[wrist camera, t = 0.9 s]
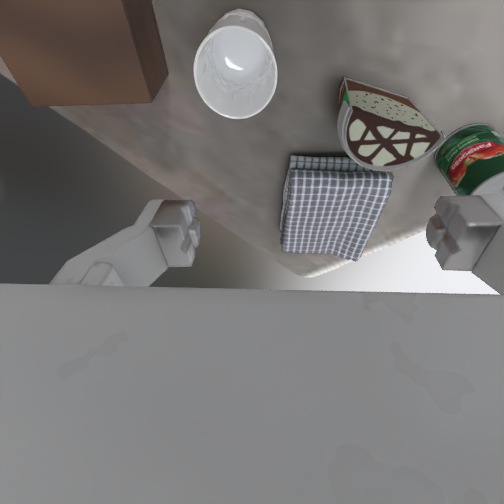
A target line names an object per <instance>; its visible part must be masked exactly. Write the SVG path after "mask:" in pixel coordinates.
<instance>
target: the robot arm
mask: <svg viewBox="0 0 504 504" xmlns="http://www.w3.org/2000/svg"><path fill="white" fill-rule="evenodd" d="M434 208H435V210H436V212H437V214H435V215H434V216H433V217H431V218H430V219H429V222H428V225H427V228H426V237H427V241H428V243H429V245H430V246H431V247H432V248H434V249H436V250H437V252H436V254H435V257H436V258H437V260H438V262H439V264H440V266H441V268H442V270H458V271H472V273H473V274H475V275H476V276H477V277H478V278H480V279H481V280H482V281H484V282H485V283H486V284H488V285H489V286H490V287H492V288H493V289H494V290H495V291H497V292H498V293H499V294H501V295H490V294H487V295H486V294H443V293H401V292H355V291H354V292H353V291H352V292H351V291H309V290H308V291H307V290H264V289H263V290H262V289H259V290H258V289H219V288H172V287H148V286H149V285H150V284H151V283H153V282H154V281H155V280H156V279H157V278H158V277H159V276H160V275H161V274H162V273H163V272H164V271H166V270H167V269H168V267H191V265H192V262H193V259H194V257H195V250H194V248H195V247H197V246H198V245H199V242H200V236H201V229H200V223H199V220H198V219H197V218H196V217H195V216H194V215H195V212H196V207H195V204H194V202H193V201H192V200H151V201H149V202H148V204H147V205H146V207H145V208H144V210H143V211H142V213H141V215H140V216H139V218H138V219H137V221H136V222H135V224H134V226H132V227H127V228H125V229H123V230H122V231H120V232H118V233H116V234H115V235H113V236H111V237H109V238H108V239H106V240H104V241H102V242H100V243H99V244H97V245H95V246H93V247H92V248H90V249H88V250H86V251H85V252H83V253H81V254H79V255H77V256H76V257H74V258H72V259H70V260H68V261H67V262H66V263H65V264H64V266H63V267H62V268H61V269H60V271H59V272H58V273H57V275H56V276H55V277H54V278H53V280H52V281H51V282H50V283H49V285H41V284H0V504H504V201H503V200H502V199H501V198H500V197H499V196H498V195H495V194H486V195H466V196H441V197H440V198H439V199H438V200H437V202H436V205H435V207H434Z"/></svg>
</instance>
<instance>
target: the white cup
mask: <svg viewBox="0 0 504 504" xmlns="http://www.w3.org/2000/svg"><path fill="white" fill-rule="evenodd" d="M277 76H278V74H277V64H276V60H275V55H274V50H273V46H272V42H271V39H270V36H269V33H268V31H267V29H266V26H265V24H264V22H263V21H262V20H261V19H260V18H259V17H258V16H257V15H256V14H254V13H253V12H252V11H248V10H243V9H236V10H233V11H230V12H228V13H225V14H224V15H223V17H222V18H221V19H220V20H218V21H217V22H216V24H215V25H214V26H213V27H212V28H211V30H210V31H209V32H208V34H207V36H206V37H205V39H204V40H203V42H202V43H201V45H200V46H199V48H198V50H197V53H196V56H195V60H194V79H195V84H196V87H197V90H198V92H199V94H200V96H201V98H202V99H203V100H204V102H205V103H206V104H207V105H208V106H209V107H210V108H211V109H212V110H213V111H215V112H216V113H218V114H220V115H222V116H224V117H227V118H232V119H244V118H248V117H251V116H253V115H255V114H257V113H259V112H260V111H261V110H263V109H264V108H265V107H266V106H267V104H268V103H269V102H270V100H271V98H272V97H273V94H274V92H275V89H276V85H277Z"/></svg>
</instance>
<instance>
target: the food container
mask: <svg viewBox="0 0 504 504" xmlns="http://www.w3.org/2000/svg"><path fill="white" fill-rule="evenodd" d="M338 100H339V106H340V112H339V116H338V124H337V131H338V138H339V141H340V144H341V146H342V148H343V149H344V151H345V152H346V153H347V154H348V156H349V157H350V158H351V159H352V160H353V161H355V162H356V163H357V164H359V165H361V166H363V167H365V168H368V169H371V170H376V171H391V170H397V169H401V168H404V167H407V166H410V165H412V164H415V163H417V162H419V161H420V160H422V159H424V158H425V157H427V156H428V155H430V154H431V153H432V152H434V151H435V150H436V149H437V148H438V147H439V146H440V145H441V144H442V143H443V142H444V141H445V140H446V138H445V137H446V136H445V134H444V132H443V131H441V132H440V131H439V130H438V129H437V128H436V127H435V126H434V125H433V123H432V122H431V121H430V120H429V119H428V118H427V117H426V116H425V115H424V114H423V112H422V111H421V110H420V109H419V108H418V107H417V106H416V105H415V104H414V102H413V101H412V100H411V99H410V98H409V97H406V96H403V95H399V94H396V93H393V92H390V91H387V90H384V89H381V88H378V87H375V86H372V85H368V84H365V83H362V82H359V81H356V80H353V79H350V78H347V77H343V79H342V82H341V85H340V89H339V98H338Z"/></svg>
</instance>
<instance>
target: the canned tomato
mask: <svg viewBox="0 0 504 504" xmlns="http://www.w3.org/2000/svg"><path fill="white" fill-rule="evenodd" d="M434 160H435V164H436V166H437V168H438V169H439V170H440V172H441V173H442V174H443V176H444V177H445V179H446V181H447V182H448V184H449V185H450V187H451V188H452V190H453V191H454V193H455V194H456V196H466V195H486V194H495V195H498V196H499V197H500V198H501V199H502V200H503V201H504V138H503V137H502V136H501V135H500V134H499V133H497V132H496V131H495V129H494V128H493V127H491V126H490V125H487V124H483V123H477V124H471V125H468V126H465V127H462V128H460V129H458V130H456V131H455V132H453V133H452V134H450V135H449V136H448V137H447V138H446V140H445V141H444V142H443V143H442V144H441V145H440V146H439V147H438V149H437V151H436V153H435V159H434Z"/></svg>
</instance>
